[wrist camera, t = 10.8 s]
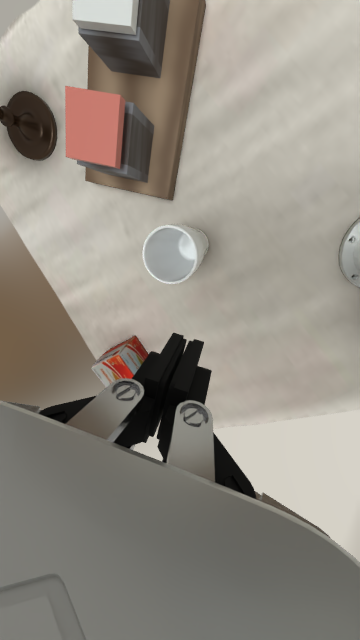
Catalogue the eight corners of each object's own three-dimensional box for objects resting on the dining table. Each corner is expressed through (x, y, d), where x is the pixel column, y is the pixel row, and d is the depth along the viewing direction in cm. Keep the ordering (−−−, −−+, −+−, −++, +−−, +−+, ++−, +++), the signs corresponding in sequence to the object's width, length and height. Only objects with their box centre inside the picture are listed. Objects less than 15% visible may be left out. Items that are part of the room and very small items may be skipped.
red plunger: (148, 124, 31) (120, 94, 24) (142, 178, 34) (115, 166, 27) (105, 117, 32) (65, 85, 25) (103, 170, 35) (65, 156, 28)
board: (205, 5, 29) (189, -93, 20) (172, 200, 38) (151, 193, 29) (103, -5, 31) (46, -99, 22) (95, 183, 40) (53, 171, 31)
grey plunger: (166, 1, 27) (139, -80, 20) (158, 74, 30) (130, 26, 23) (117, -4, 28) (72, -83, 21) (112, 67, 31) (72, 19, 24)
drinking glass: (167, 236, 41) (130, 243, 27) (202, 215, 38) (180, 211, 25) (185, 271, 42) (159, 294, 29) (220, 253, 40) (208, 269, 26)
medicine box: (109, 348, 53) (88, 367, 46) (135, 333, 50) (117, 352, 43) (146, 397, 56) (132, 423, 49) (173, 387, 53) (162, 413, 46)
